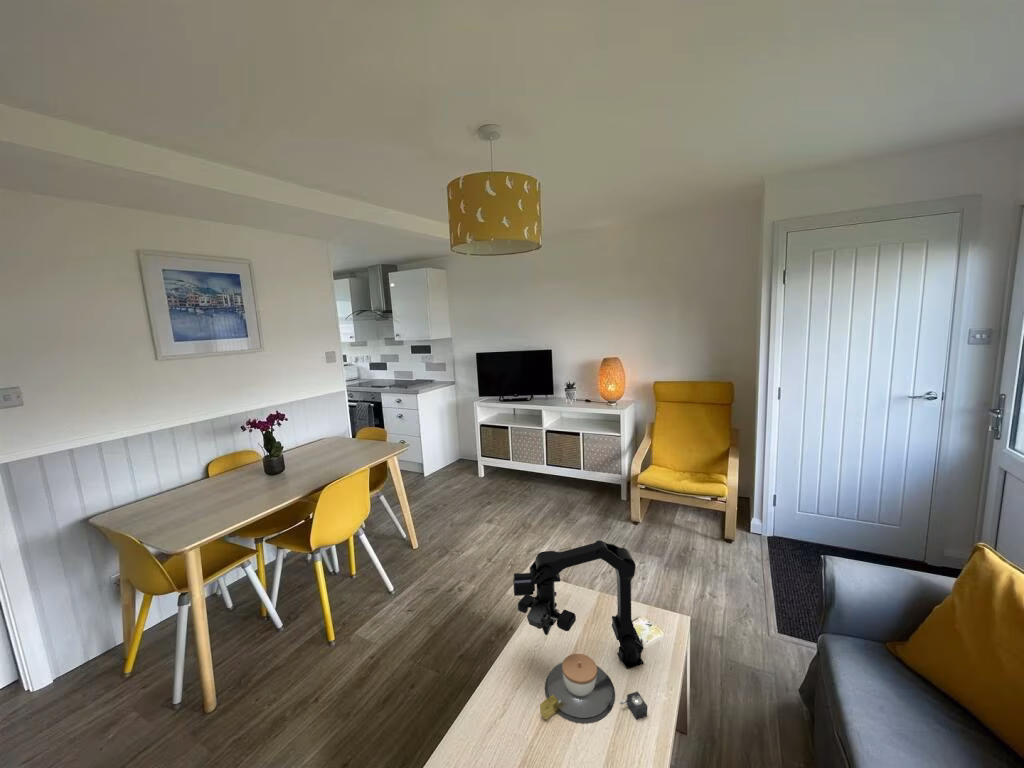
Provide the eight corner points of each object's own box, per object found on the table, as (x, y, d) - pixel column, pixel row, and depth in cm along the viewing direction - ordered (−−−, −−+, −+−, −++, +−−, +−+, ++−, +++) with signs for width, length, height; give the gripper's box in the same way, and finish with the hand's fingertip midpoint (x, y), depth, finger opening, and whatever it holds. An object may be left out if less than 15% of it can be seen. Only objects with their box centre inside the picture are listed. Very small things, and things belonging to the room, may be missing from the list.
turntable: (579, 651, 147) (579, 643, 146) (626, 692, 131) (626, 683, 130) (521, 692, 132) (521, 683, 132) (566, 744, 117) (566, 734, 116)
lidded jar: (596, 706, 127) (597, 678, 125) (560, 701, 129) (560, 673, 128) (597, 677, 137) (597, 651, 136) (563, 672, 139) (563, 646, 138)
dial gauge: (637, 701, 129) (637, 690, 128) (647, 716, 124) (647, 705, 123) (618, 707, 127) (618, 696, 126) (627, 722, 122) (627, 712, 122)
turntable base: (594, 653, 146) (594, 653, 146) (628, 710, 126) (628, 709, 126) (535, 671, 140) (535, 670, 140) (561, 733, 120) (561, 732, 120)
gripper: (507, 596, 136) (509, 639, 139) (560, 618, 126) (560, 664, 129) (525, 577, 145) (527, 617, 148) (576, 596, 135) (576, 639, 138)
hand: (546, 634), depth 140 cm, fingers closed
